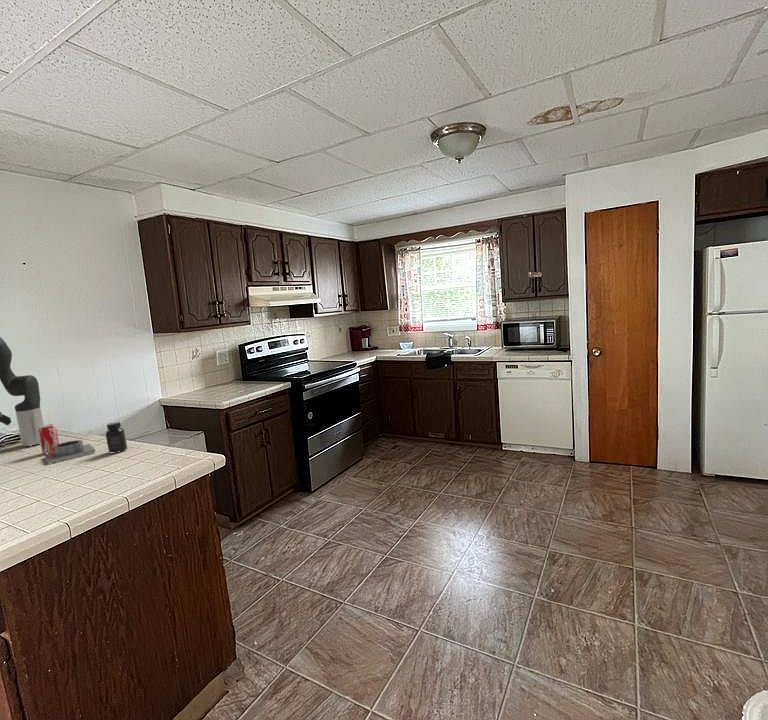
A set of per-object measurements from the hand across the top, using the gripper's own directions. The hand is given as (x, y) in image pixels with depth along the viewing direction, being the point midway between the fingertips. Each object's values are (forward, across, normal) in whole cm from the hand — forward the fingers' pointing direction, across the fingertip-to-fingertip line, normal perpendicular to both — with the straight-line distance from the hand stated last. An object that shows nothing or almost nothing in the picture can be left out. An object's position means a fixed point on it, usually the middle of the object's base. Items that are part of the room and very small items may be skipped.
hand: (9, 421), depth 181 cm
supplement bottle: (+34, -29, -10) cm, 46 cm away
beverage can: (+20, 0, +4) cm, 21 cm away
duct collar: (+24, -15, 0) cm, 28 cm away
